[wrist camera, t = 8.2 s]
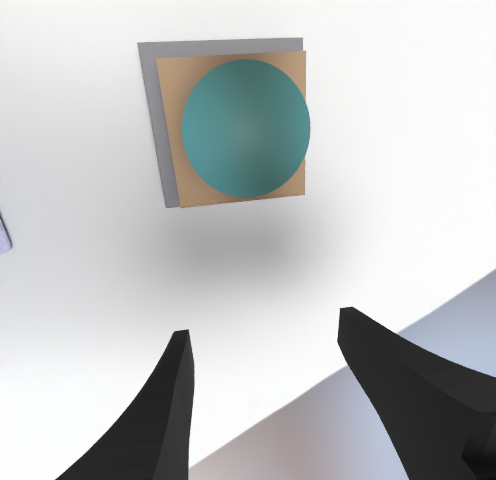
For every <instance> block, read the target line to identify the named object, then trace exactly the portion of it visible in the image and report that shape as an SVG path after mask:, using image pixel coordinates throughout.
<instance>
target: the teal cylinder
mask: <svg viewBox="0 0 496 480" xmlns="http://www.w3.org/2000/svg"><path fill="white" fill-rule="evenodd" d="M182 139H183V144H184V149H185V152H186V154H187V157H188V159H189V161H190V163H191V165H192V167H193V168H194V170H195V171H196V173H197V174H198V175H199V176H200V177H201V178H202V179H203V180H204V181H205V182H206V183H207V184H208V185H210V186H211V187H213V188H214V189H216V190H218V191H220V192H221V193H224V194H227V195H230V196H234V197H242V198H249V197H257V196H262V195H265V194H268V193H270V192H272V191H274V190H276V189H278V188H279V187H281V186H282V185H283V184H285V183H286V182H287V181H288V180H289V179H290V178H291V177H292V176H293V175H294V174H295V172H296V171H297V170H298V168H299V167H300V165H301V163H302V161H303V159H304V157H305V155H306V151H307V148H308V144H309V139H310V118H309V112H308V108H307V105H306V102H305V100H304V97H303V95H302V93H301V92H300V90H299V88H298V87H297V85H296V84H295V83H294V82H293V80H292V79H291V78H290V77H289V76H288V75H287V74H286V73H284V72H283V71H281V70H280V69H279V68H277V67H275V66H273V65H271V64H269V63H266V62H263V61H260V60H254V59H239V60H233V61H229V62H226V63H223V64H221V65H219V66H217V67H215V68H214V69H212V70H211V71H209V72H208V73H207V74H206V75H205V76H204V77H202V78H201V79H200V81H199V82H198V83H197V84H196V85H195V87H194V89H193V90H192V92H191V93H190V96H189V98H188V100H187V102H186V105H185V109H184V112H183V118H182Z"/></svg>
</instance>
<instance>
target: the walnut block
mask: <svg viewBox="0 0 496 480" xmlns="http://www.w3.org/2000/svg"><path fill="white" fill-rule="evenodd" d="M239 59H254V60H260V61H263V62H266V63H269V64H271V65H273V66H275V67H277V68H279V69H280V70H281V71H283V72H284V73H286V74H287V75H288V76H289V77H290V78H291V79H292V80H293V82H294V83H295V84H296V85H297V87H298V88H299V90H300V92H301V93H302V95H303V97H304V100H305V98H306V51H293V52H273V53H253V54H232V55H212V56H192V57H172V58H156V62H157V68H158V74H159V80H160V86H161V92H162V98H163V104H164V110H165V116H166V122H167V128H168V134H169V140H170V146H171V152H172V158H173V164H174V170H175V176H176V182H177V188H178V194H179V200H180V206H181V208H185V207H194V206H203V205H213V204H222V203H231V202H241V201H250V200H259V199H269V198H278V197H287V196H297V195H305V157H304V159H303V161H302V163H301V165H300V167H299V168H298V170H297V171H296V172H295V174H294V175H293V176H292V177H291V178H290V179H289V180H288V181H287V182H286V183H285V184H283V185H282V186H281V187H279V188H278V189H276V190H274V191H272V192H270V193H268V194H265V195H262V196H257V197H249V198H242V197H234V196H230V195H227V194H224V193H221V192H220V191H218V190H216V189H214V188H213V187H211V186H210V185H208V184H207V183H206V182H205V181H204V180H203V179H202V178H201V177H200V176H199V175H198V174H197V173H196V171H195V170H194V168H193V167H192V165H191V163H190V161H189V159H188V157H187V154H186V152H185V149H184V144H183V139H182V118H183V112H184V109H185V105H186V102H187V100H188V98H189V96H190V93H191V92H192V90H193V89H194V87H195V85H196V84H197V83H198V82H199V81H200V79H201V78H202V77H204V76H205V75H206V74H207V73H208V72H209V71H211V70H212V69H214V68H215V67H217V66H219V65H221V64H223V63H226V62H229V61H233V60H239Z"/></svg>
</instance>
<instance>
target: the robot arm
mask: <svg viewBox="0 0 496 480" xmlns="http://www.w3.org/2000/svg"><path fill="white" fill-rule="evenodd" d="M10 248H11V245H10V242H9V239H8V237H7V234H6V232H5V229H4V227H3V224H2V222H1V219H0V254H1V253H5V252H7V251H8V250H10ZM337 342H338V345H339V347H340V349H341V352H342V354H343V356H344V358H345V360H346V362H347V364H348V365H349V367H350V369H351V370H352V372H353V374H354V375H355V377H356V379H357V380H358V382H359V383H360V385H361V386H362V388H363V390H364V391H365V393H366V395H367V396H368V397H369V399H370V401H371V403H372V404H373V406H374V408H375V409H376V411H377V413H378V415H379V417H380V419H381V421H382V423H383V424H384V427H385V429H386V431H387V433H388V435H389V437H390V439H391V441H392V443H393V445H394V447H395V449H396V452H397V453H398V456H399V458H400V460H401V462H402V464H403V467H404V469H405V471H406V473H407V476H408V478H409V480H496V377H492V376H490V375H487V374H483V373H481V372H477V371H475V370H472V369H469V368H466V367H464V366H462V365H459V364H456V363H454V362H451V361H449V360H447V359H445V358H442V357H440V356H438V355H436V354H433V353H431V352H429V351H427V350H425V349H423V348H421V347H419V346H417V345H415V344H413V343H411V342H410V341H408V340H406V339H404V338H402V337H400V336H399V335H397V334H396V333H394V332H392V331H390V330H389V329H387V328H386V327H384V326H382V325H381V324H379V323H378V322H376V321H374V320H373V319H371V318H370V317H368V316H367V315H365V314H363V313H362V312H360V311H359V310H357V309H355V308H354V307H346V308H340V316H339V328H338V340H337ZM193 396H194V360H193V353H192V347H191V341H190V335H189V329H188V330H181V331H175V332H174V333H173V334H172V337H171V339H170V341H169V343H168V345H167V347H166V349H165V351H164V353H163V355H162V357H161V358H160V360H159V362H158V364H157V365H156V367H155V369H154V370H153V372H152V374H151V375H150V377H149V378H148V380H147V381H146V383H145V384H144V386H143V387H142V389H141V390H140V392H139V393H138V394H137V396H136V397H135V398H134V400H133V401H132V402H131V404H130V405H129V406H128V407H127V409H126V410H125V411H124V412H123V413H122V415H121V416H120V417H119V418H118V419H117V421H116V422H115V423H114V424H113V425H112V426H111V427H110V428H109V430H108V431H107V432H106V433H105V434H104V435H103V436H102V437H101V438H100V439H99V440H98V441H97V442H96V443H95V444H94V445H93V446H92V447H91V448H90V449H89V450H88V451H87V452H86V453H85V454H84V455H83V456H82V457H81V458H79V459H78V460H77V461H76V462H75V463H74V464H73V465H72V466H70V467H69V468H68V469H67V470H66V471H65V472H64V473H63V474H61V475H60V476H59V477H58V478H57V479H55V480H188V459H189V437H190V427H191V417H192V407H193Z"/></svg>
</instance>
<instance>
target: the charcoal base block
mask: <svg viewBox="0 0 496 480" xmlns="http://www.w3.org/2000/svg"><path fill="white" fill-rule="evenodd" d="M137 44H138V50H139V55H140V61H141V67H142V73H143V78H144V84H145V90H146V96H147V101H148V107H149V113H150V119H151V124H152V130H153V136H154V142H155V147H156V153H157V159H158V165H159V170H160V176H161V182H162V188H163V194H164V199H165V205H166V208H172V207H181V206H180V200H179V194H178V188H177V182H176V176H175V170H174V164H173V158H172V152H171V146H170V140H169V134H168V128H167V122H166V116H165V110H164V104H163V98H162V92H161V86H160V80H159V74H158V68H157V62H156V58H172V57H192V56H212V55H232V54H253V53H273V52H293V51H303V38H272V39H240V40H208V41H176V42H144V43H137ZM297 196H298V195H297Z"/></svg>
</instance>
